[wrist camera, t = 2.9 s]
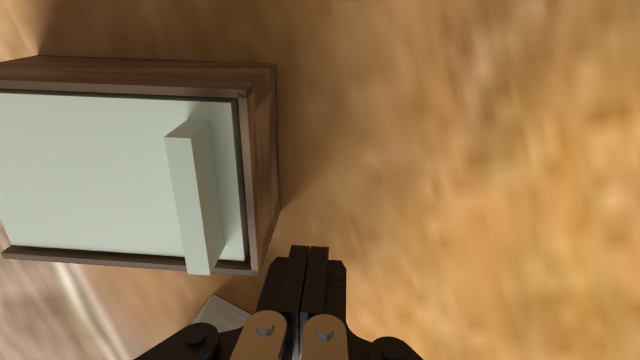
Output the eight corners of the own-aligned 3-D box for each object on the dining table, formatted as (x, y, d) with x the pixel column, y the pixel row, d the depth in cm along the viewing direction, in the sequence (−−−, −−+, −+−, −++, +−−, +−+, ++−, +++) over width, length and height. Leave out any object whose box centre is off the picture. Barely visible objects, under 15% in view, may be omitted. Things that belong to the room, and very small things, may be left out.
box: (37, 55, 25) (-79, 76, 18) (275, 63, 24) (245, 89, 17) (81, 199, 30) (2, 258, 23) (280, 211, 29) (258, 276, 22)
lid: (-36, 86, 20) (-110, 103, 16) (236, 97, 19) (213, 118, 16) (24, 235, 24) (-26, 271, 21) (248, 250, 23) (232, 290, 20)
